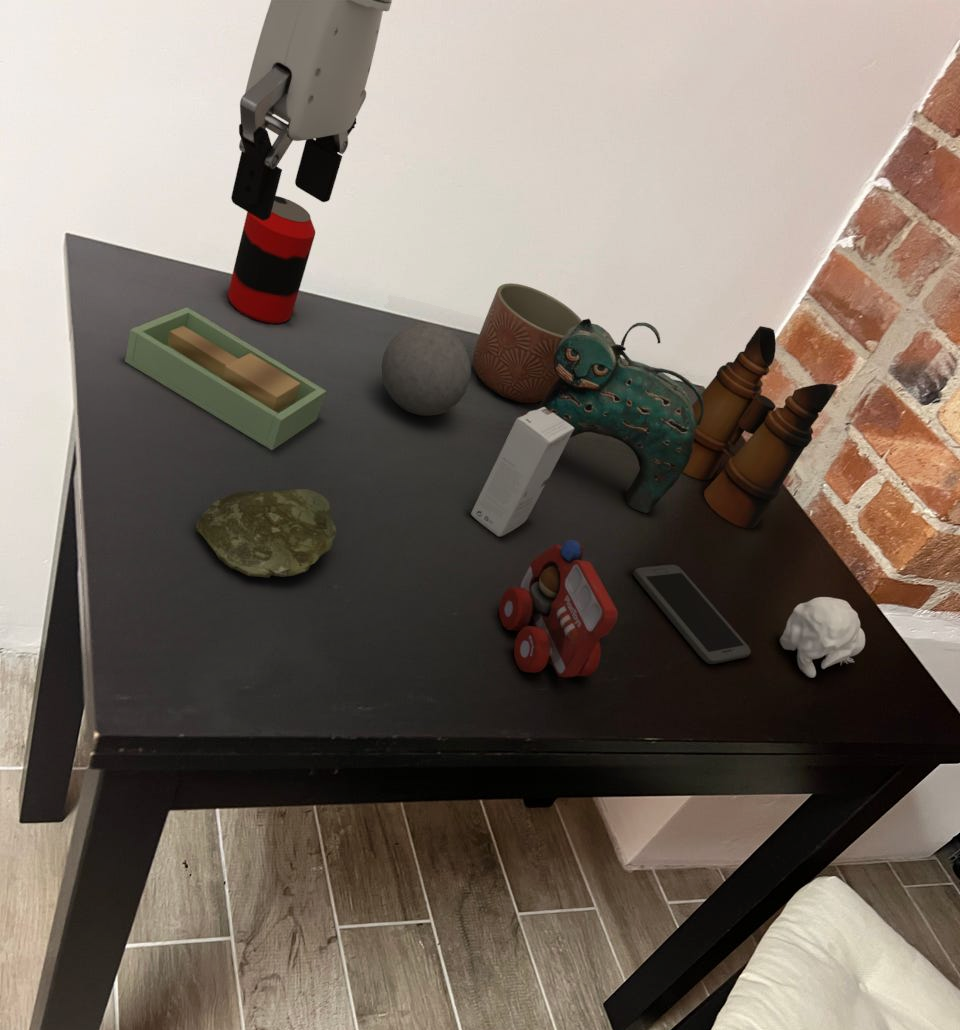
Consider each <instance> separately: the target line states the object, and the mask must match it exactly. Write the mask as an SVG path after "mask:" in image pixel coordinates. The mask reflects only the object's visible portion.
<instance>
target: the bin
mask: <svg viewBox="0 0 960 1030" xmlns="http://www.w3.org/2000/svg"><path fill="white" fill-rule="evenodd" d="M181 326H185V327H186V328H188V329H190V330H191V331H193V332H195V333H196V334H198V335H200V336H201V337H203V338H205V339H206V340H208V341H209V342H211V343H213V344H214V345H216V346H218V347H219V348H221V349H223V350H224V351H226V352H228V353H229V354H231V355H233V356H234V357H236V358H238V359H239V358H241V357H243V356H245V355H247V354H249V353H251V354H253V355H255V356H256V357H258V358H260V359H261V360H263V361H265V362H266V363H268V364H270V365H271V366H273V367H275V368H276V369H278V370H280V371H281V372H283V373H285V374H286V375H288V376H290V377H291V378H293V379H295V380H296V381H298V382H299V383H300V387H299V390H298V393H297V396H296V399H295V401H294V404H293V405H291V406H290V407H288V408H286V409H285V410H283V411H282V412H280V413H279V414H278V413H277V412H275V411H274V410H272V409H270V408H269V407H267V406H265V405H264V404H262V403H260V402H259V401H257V400H255V399H254V398H252V397H250V396H249V395H247V394H245V393H244V392H242V391H240V390H239V389H237V388H235V387H234V386H232V385H230V384H229V383H227V382H225V381H224V380H222V378H221V377H219V376H218V375H216V374H214V373H213V372H211V371H209V370H208V369H206V368H204V367H203V366H201V365H199V364H198V363H196V362H194V361H193V360H191V359H189V358H188V357H186V356H185V355H183V354H181V353H180V352H178V351H176V350H175V349H173V348H171V347H170V346H168V345H167V344H168V339H169V334H170V331H172V330H174V329H176V328H179V327H181ZM127 341H128V342H127V347H126V353H125V359H124V362H125V363H127V364H128V365H130V366H131V367H133V368H134V369H136V370H137V371H140V372H141V373H143V374H145V375H146V376H148V377H150V378H151V379H153V380H154V381H156V382H157V383H160V384H161V385H163V386H164V387H166V388H168V389H169V390H171V391H173V392H174V393H176V394H177V395H179V396H181V397H182V398H184V399H186V400H187V401H189V402H190V403H192V404H195V406H197V407H199V408H201V409H202V410H204V411H205V412H207V413H209V414H211V416H214V417H216V418H217V419H218V420H220V421H222V422H224V423H225V424H227V425H229V426H230V427H232V428H234V429H235V430H237V431H239V432H240V433H242V434H243V435H245V436H247V437H249V438H251V439H252V440H254V441H255V442H256V443H259V444H260V445H263V446H264V447H265V448H267V449H268V450H270V451H273V450H275V449H276V448H278V447H279V446H281V445H283V444H284V443H285V442H286V441H288V440H289V439H291V438H292V437H294V436H295V435H297V434H299V433H300V432H301V431H303V430H305V428H307V427H308V426H310V425H311V424H313V423H314V422H316V421H317V420H318V418H319V414H320V411H321V408H322V406H323V402H324V400H325V397H326V393H327V390H326V389H324V388H322V387H321V386H319V385H317V384H316V383H314V382H312V381H311V380H309V379H307V378H306V377H304V376H302V375H301V374H300V373H297V372H296V371H294V370H292V369H290V368H289V367H287V366H286V365H284V364H282V363H281V362H279V361H278V360H276V359H274V358H272V357H270V356H269V355H267V354H266V353H264V352H262V351H261V350H259V349H258V348H256V347H254V346H252V345H251V344H249V343H248V342H246V341H244V340H243V339H241V338H239V337H238V336H236V335H234V334H233V333H231V332H229V331H228V330H226V329H224V328H223V327H221V326H219V325H217V324H216V323H214V322H213V321H211V320H209V319H208V318H206V317H204V316H202V315H201V314H199V313H198V312H197V311H194V310H192V309H191V308H189V307H188V306H186V307H183V308H181V309H178V310H175V311H173V312H171V313H169V314H166V315H163V316H160V317H157V318H156V319H155V318H154V319H153V320H150V321H148V322H146V323H143V324H140V325H137V326H135V327H133V328H130V330H129V336H128V340H127Z"/></svg>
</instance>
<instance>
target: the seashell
mask: <svg viewBox="0 0 960 1030" xmlns="http://www.w3.org/2000/svg"><path fill="white" fill-rule="evenodd" d="M331 508H332V507H331V504H330V502H329V500H328V499H327V498H326V497H325V496H324V495H322V494H320V493H319V492H317V491H314V490H310V489H302V488H301V489H299V488H297V489H287V490H271V489H269V490H244V491H238V492H233V493H230V494H227V495H225V496H222V497H221V498H219V499H217V500H216V501H214V502H212V503H211V505H209V507H207V509H206V510H205V511H204V513H203V514H202V515H201V517H200V518H199V519H198V520H197V524H196V525H195V527H196V532H197V533H199V534H200V535H201V537H203V539H204V540H205V542H206V543H207V544H208V546H210V548H211V549H212V551H213V552H214V553H215V554H216V557H217V559H219V560H220V561H221V562H223V563H224V564H225V565H226V566H227V567H228V568H230V569H231V570H236V571H238V572H240V573H242V574H244V575H246V576H248V577H260V578H268V579H269V578H270V577H271V576H273V577H280V578H283V577H284V578H285V577H293V576H296V575H299V574H302V573H305V572H307V571H308V570H309V569H310V567H311V566H312V565H314V564H315V563H316V562H317V561H318V560H319V559H320V558H321V557H323V556H324V555H326V554H327V553H329V552H330V551H331V549H332V546H333V542H334V541H335V539H336V535H337V528H336V525H335V524H334V522H333V518H332V515H331V514H332V513H331V512H332V511H331V510H332V509H331Z"/></svg>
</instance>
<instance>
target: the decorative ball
mask: <svg viewBox="0 0 960 1030" xmlns="http://www.w3.org/2000/svg"><path fill="white" fill-rule="evenodd" d="M381 379H382V382H383V384H384V387H385V389H386V392H387V394H388V396H389V397H390V398H391V399H392V401H393V402H394V403H395V404H397V406H399V407H400V408H401V409H403V410H405V411H406V412H408V413H411V414H414V415H417V416H423V417H430V416H436V415H440V414H443V413H445V412H448V411H449V410H451V409H452V408H453V407H455V406H456V405H457V404H458V403H459V402H460V401H461V399H462V398H463V397H464V395H465V393H466V391H467V389H468V386H469V384H470V379H471V362H470V357H469V355H468V352H467V349H466V347H465V345H464V344H463V342H462V340H460V339H459V337H458V336H457V335H456V334H454V332H453V331H451V330H450V329H448V328H445V327H444V326H442V325H439V324H435V323H429V322H421V323H416V324H411V325H410V326H406V327H405V328H403V329H402V330H400V331H398V332H397V333H396V334H395V335H394V337H392V338H391V340H390V341H389V343H388V344H387V346H386V347H385V350H384V352H383V356H382V360H381Z"/></svg>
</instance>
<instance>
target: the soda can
mask: <svg viewBox="0 0 960 1030" xmlns="http://www.w3.org/2000/svg"><path fill="white" fill-rule="evenodd" d="M243 224H244V225H243V227H242V233H241V237H240V240H239V245H238V249H237V254H236V257H235V262H234V266H233V271H232V273H231V279H230V282H229V287H228V292H227V297H228V299H229V301H230V303H231V305H232V306H233V307H234V308H235V309H236V310H237V311H238V312H240V313H241V314H242V315H245V316H247V317H249V318H251V319H253V320H256V321H258V322H262V323H266V324H282V323H284V322H286V321H288V320H289V319H291V317H292V316H293V313H294V309H295V305H296V301H297V299H298V296H299V292H300V288H301V285H302V281H303V279H304V274H305V270H306V268H307V264H308V260H309V257H310V254H311V250H312V247H313V243H314V240H315V236H316V228H315V226H314V223H313V220H312V218H311V214H310V213H309V212H308V211H307V210H306V209H305V208H304V207H303V206H301V205H300V204H299V203H296V202H294V201H292V200H290V199H288V198H285V197H282V196H278V195H276V196H275V200H274V204H273V208H272V211H271V215H270V218H269V219H267V220H261V219H259V218H257V217H256V216H254V215H252V214H251V213H249V212H247V211H246V216H245V220H244V223H243Z"/></svg>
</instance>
